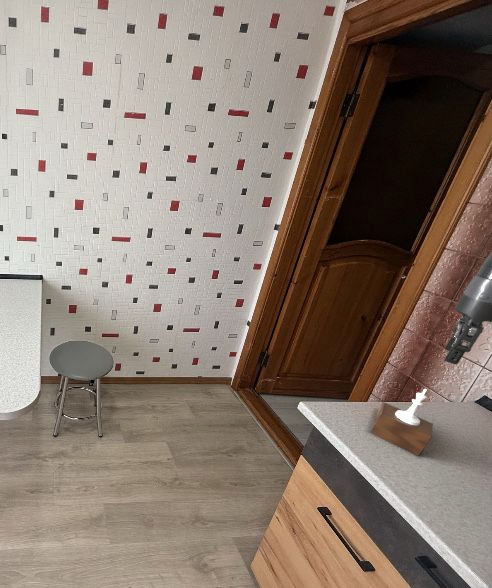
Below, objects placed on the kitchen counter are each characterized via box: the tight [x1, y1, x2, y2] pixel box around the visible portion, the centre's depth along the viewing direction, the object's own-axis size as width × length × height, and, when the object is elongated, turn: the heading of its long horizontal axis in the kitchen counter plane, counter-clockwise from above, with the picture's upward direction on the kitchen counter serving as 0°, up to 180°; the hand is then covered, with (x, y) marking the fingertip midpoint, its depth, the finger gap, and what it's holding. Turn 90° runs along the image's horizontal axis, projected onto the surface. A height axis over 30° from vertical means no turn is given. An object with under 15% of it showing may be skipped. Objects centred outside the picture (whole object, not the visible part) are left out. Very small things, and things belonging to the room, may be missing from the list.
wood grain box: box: [369, 401, 434, 457], centre depth 93 cm, size 10×14×7 cm
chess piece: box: [395, 388, 428, 426], centre depth 87 cm, size 5×5×10 cm
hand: (450, 356), depth 82 cm, fingers open, 8 cm apart
